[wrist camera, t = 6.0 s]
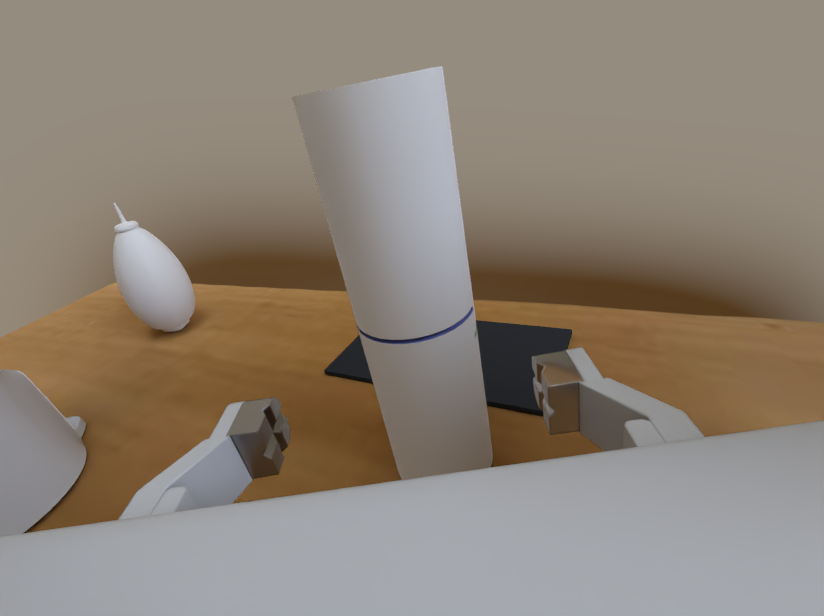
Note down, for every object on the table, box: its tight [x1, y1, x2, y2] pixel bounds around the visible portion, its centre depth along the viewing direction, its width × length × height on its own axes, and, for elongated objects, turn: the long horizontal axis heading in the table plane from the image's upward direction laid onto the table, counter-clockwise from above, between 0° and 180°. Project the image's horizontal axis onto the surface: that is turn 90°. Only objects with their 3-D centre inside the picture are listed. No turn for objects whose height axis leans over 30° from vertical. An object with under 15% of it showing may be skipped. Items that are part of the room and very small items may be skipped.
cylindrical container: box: [293, 66, 493, 480], centre depth 26 cm, size 7×7×25 cm
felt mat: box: [324, 320, 572, 416], centre depth 43 cm, size 22×12×1 cm, turn 63°
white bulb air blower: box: [113, 203, 195, 332], centre depth 56 cm, size 8×8×18 cm
